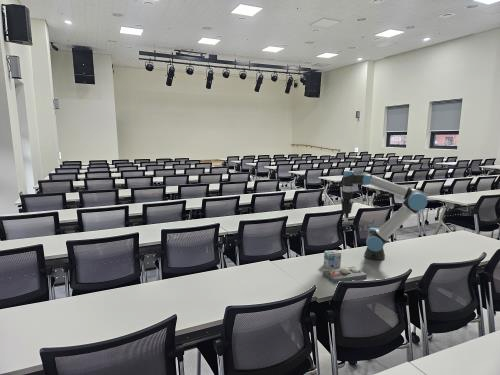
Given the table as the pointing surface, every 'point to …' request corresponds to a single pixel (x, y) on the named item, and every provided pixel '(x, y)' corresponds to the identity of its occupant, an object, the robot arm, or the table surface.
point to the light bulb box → (332, 258)
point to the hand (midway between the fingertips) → (345, 221)
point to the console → (344, 275)
